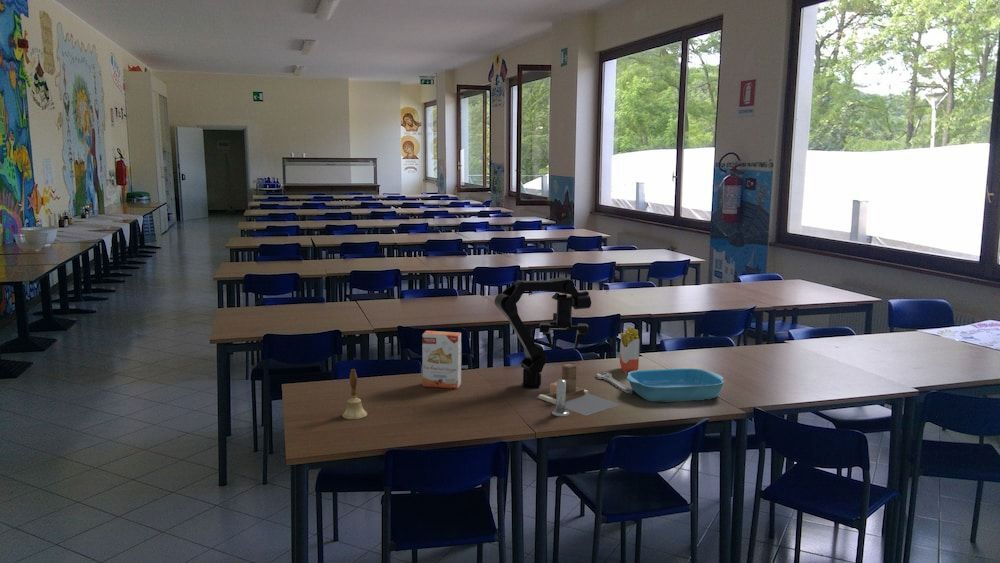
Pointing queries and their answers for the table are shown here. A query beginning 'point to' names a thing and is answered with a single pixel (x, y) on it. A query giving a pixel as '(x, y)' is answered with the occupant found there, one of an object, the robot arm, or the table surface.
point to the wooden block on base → (570, 382)
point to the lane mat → (583, 403)
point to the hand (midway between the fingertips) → (563, 349)
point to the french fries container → (629, 350)
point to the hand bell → (354, 401)
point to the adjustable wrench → (613, 381)
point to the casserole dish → (675, 384)
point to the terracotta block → (553, 388)
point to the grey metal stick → (561, 399)
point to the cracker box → (441, 359)
